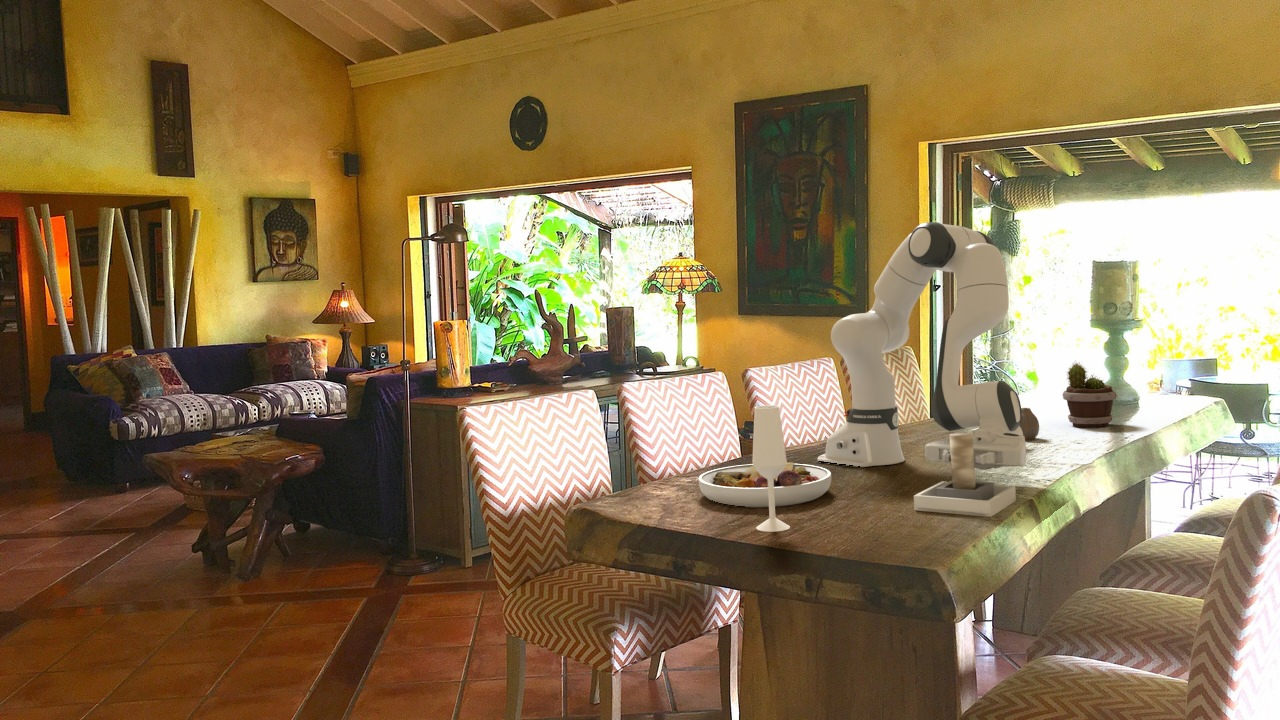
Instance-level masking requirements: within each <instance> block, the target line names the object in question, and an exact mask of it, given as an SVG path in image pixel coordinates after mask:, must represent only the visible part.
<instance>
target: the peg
mask: <svg viewBox="0 0 1280 720" xmlns="http://www.w3.org/2000/svg"><path fill="white" fill-rule="evenodd" d="M949 441H950V451H951V462H950V465H951V467H950V468H951V479H952V483H953V488H955V489H968V490H976V484H975V482H976V471H975V470H976V468H975V467H974V451H973V435H972V434H970V432H968V433H967V432H962V433H961V432H959V433H950V434H949Z"/></svg>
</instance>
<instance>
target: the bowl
mask: <svg viewBox="0 0 1280 720" xmlns="http://www.w3.org/2000/svg"><path fill="white" fill-rule="evenodd" d="M773 480H774V499H775V508H776V507H785V506H794V505H800V504H803V503H804V504H805V503H808V502H811V501H814V500H816V499H818V498H820V497H822V496H823V495H824V494H825V493H826V492H827V491H828V490H829V488H830V486H831V483H832V472H831V471H830V470H829V469H827V468H824V467H821V466H817V465H812V464H804V463H803V464H800V463H794V462H793V461H792V462H788V461H787V463H786V466H785V468H784V469H783V471H782V472H781V473H780V474H779V475H778V476H777V477H776V478H774V479H773ZM698 487H699V490H700V491H701V493H702V495H703V496H705V497H706V498H707V499H708V500H710V501H712V500H713V501H712V502H714V501H715V502H714V503H716V502H719V503H724V504H730V505H735V506H734V507H737V506H745V507H744V508H769V498H768V479H766V478H765V477H763V476H762V475H761V474H760V473H759V472H758V471H757V470H756V469H755V468H754V466H753V463H750V464H740V465H732V466H726V467H720V468H716V469H712V470H708V471H706V472H703V473H702V474H700V475H699V476H698ZM719 503H718V504H719Z"/></svg>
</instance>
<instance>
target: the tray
mask: <svg viewBox="0 0 1280 720" xmlns="http://www.w3.org/2000/svg"><path fill="white" fill-rule="evenodd" d="M975 484H976V490H968V489H955V488H953V483H952V480H949V481H943V480H942V481H940V482H938V483H935V484H934V485H932V486H930V487H928V488H926V489H924V490H922V491H920V492H918V493H916V494H914V495H913V507H914V508H913V510H914V511H921V512H933V513H942V514H944V513H945V514H955V515H965V516H978V517H987V518H988V517H989V518H991V517H993V516H995V515H997V514H998V513H999V512H1000V511H1003V510H1004V509H1006V508H1007V507H1008V506H1010V505H1012V504H1013V503H1015V502H1016V501H1017V495H1016V494H1017V493H1016V486H1013V485H1012V486H1011V485H998V484H994V482H982V481H981V482H980V481H979V482H978V481H975Z"/></svg>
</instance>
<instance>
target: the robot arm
mask: <svg viewBox="0 0 1280 720" xmlns="http://www.w3.org/2000/svg"><path fill="white" fill-rule="evenodd" d="M1004 263H1005V262H1004V260H1003V256H1002V253H1001V251H1000V250H999V248H998V247H997V246H996V245H995V243H994V241H993V239H992V238H991V237H990V236H989V235H987V234H985V233H984V232H981V231H979V230H974V229H971V228H968V227H965V226H961V225H957V224H956V225H952V224H948V223H947V224H946V223H940V222H937V221H935V222H934V221H931V222H929V221H928V222H924V223H921V224H919V225H917V226H916V227H914V229H913V230H912V232H911V233H909V234H908V236H907V237H906V238H905V239H904V240H903V241H902V242H901V243H900V245H898V247H897V248H896V250H895V251H894V252H893V254H892V255H891V257H890V259H889V260H888V262H887V264H886V265H885V266H884V269H883V270H882V272H881V273H880V274H879V275H880V276H879V277H878V279H877V280H876V282H875V284H874V287H873V292H874V295H875V297H874V298H875V299H874V302H873V305H872V307H871V309H870V310H868V311H867V312H863V313H853V314H849V315H846V316H844V317H843V318H840V319H839V320H837V321H836V322H835V323H834V324H833V326H832V328H831V332H830V340H831V343H832V346H833V348H834V349H835V351H836V352H838V354H840V356H841V357H842V359H843V360H844V363H845V365H846V368H847V372H848V376H849V378H850V386H851V387H850V389H851V390H850V391H851V401H852V402H851V404H852V407H851V408H849V409H848V410H846V411H844V412H843V417H846V422H845V423H844V424H843V425H841V426H840V427H839V428H837V430H835V431H834V432H833V433H831V434H830V435H829V436H828V438H827V441H826V445H825V452H824V453H823V454H821V455H819V456H818V457H817V460H818V461H824V462H831V463H837V464H836V465H839V464H846V465H845V466H849V465H853V466H852V467H858V466H860V468H865V467H872V466H873V467H874V466H885V465H887V466H888V465H894V464H900V463H902V462H904V461H905V460H906V459H905V457H904V454H903V450H902V447H901V440H900V437H899V431H898V429H899V410H898V407H897V405H896V401H897V400H896V381H895V376H894V375H893V374H892V372H890V371H889V369H888V368H887V366H886V363H885V360H884V357H883V354H887V353H891V352H894V351H895V350H898V349H899V348H901V347H903V346H904V345H905V344H906V343H907V341H908V340H909V337H910V325H909V320H910V318H911V314H912V311H913V309H914V307H915V305H916V303H917V301H918V300H919V298H920V297H921V295H922V294H923V292H924V290H925V288H926V287H927V285H928V284H929V283H930V281H931V279H932V277H933V276H934V274H935V272H936V271H941V272H944V273H945V272H946V273H954V275H955V280H956V302H955V306H954V309H953V311H952V313H951V315H950V316H949V317H948V318H946V320H945V321H944V324H943V328H942V332H941V338H940V345H939V352H938V353H939V355H938V363H937V365H938V366H937V374H936V382H935V387H934V390H933V393H932V394H933V395H932V400H931V414H932V415H931V416H932V419H933V420H934V421H935V423H936V424H938V425H939V426H940V427H941V428H943V429H944V430H946V431H949V432H952V431H953V432H954V431H957V430H963V429H967V428H976V429H974V430H972V431H970V432H969V433H970V434H972V435H973V451H974V467H975V469H977V470H982V471H985V470H992V469H998V468H1004V467H1005V468H1006V467H1023V466H1025V465H1026V461H1027V443H1026V440H1025V437H1024V436H1023V432H1022V429H1021V427H1020V426H1019V425H1020V422H1021V419H1022V412H1021V408H1022V405H1021V400H1020V397H1019V394H1018V393H1017V392H1016V391H1015V389H1013V387H1012V386H1011V385H1010V384H1009V383H1007V382H1006V381H1004V380H994V381H985V382H979V383H971V384H970V383H969V384H964V385H959V381H960V372H961V370H960V369H961V361H962V353H963V351H964V349H965V347H966V346H968V344H969V343H971V342H972V341H973V340H975V339H976V338H977V337H979V336H982V335H983V334H985V333H987V332H988V331H991V330H992V329H993V328H995V327H997V326H998V325H999V324H1000V323H1001V322H1002V321H1003V319H1004V318H1005V316H1006V315H1007V313H1008V311H1009V301H1010V300H1009V288H1008V285H1009V284H1008V278H1007V272H1006V268H1005V264H1004ZM978 427H979V428H978ZM924 457H925V460H926V461H928V462H941V463H951V451H950V440H936V441H933V442H928V443H927V444H925V445H924ZM818 461H817V462H818Z"/></svg>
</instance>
